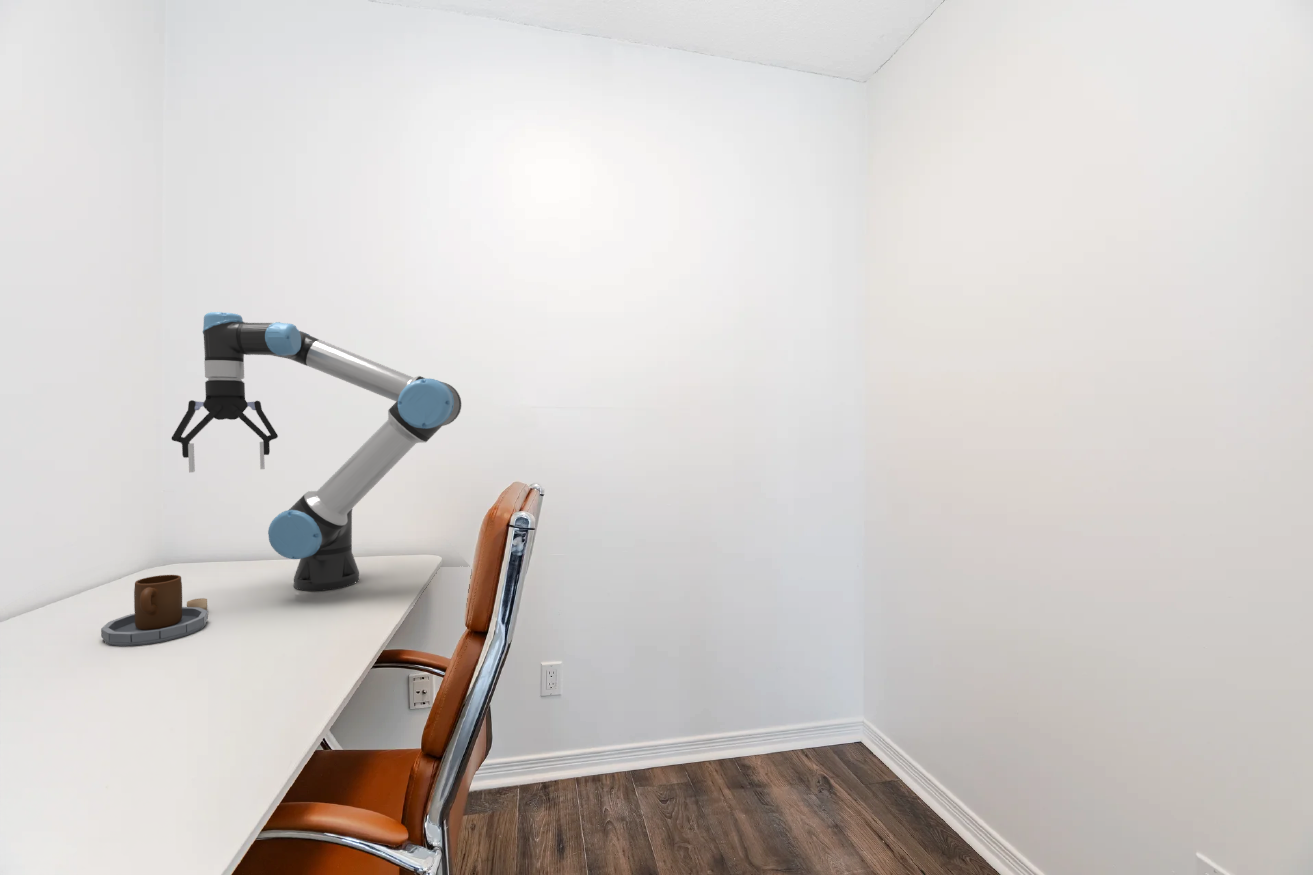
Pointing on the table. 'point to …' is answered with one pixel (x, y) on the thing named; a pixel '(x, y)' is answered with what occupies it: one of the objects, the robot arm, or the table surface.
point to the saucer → (130, 635)
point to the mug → (158, 602)
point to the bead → (198, 603)
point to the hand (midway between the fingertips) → (228, 470)
